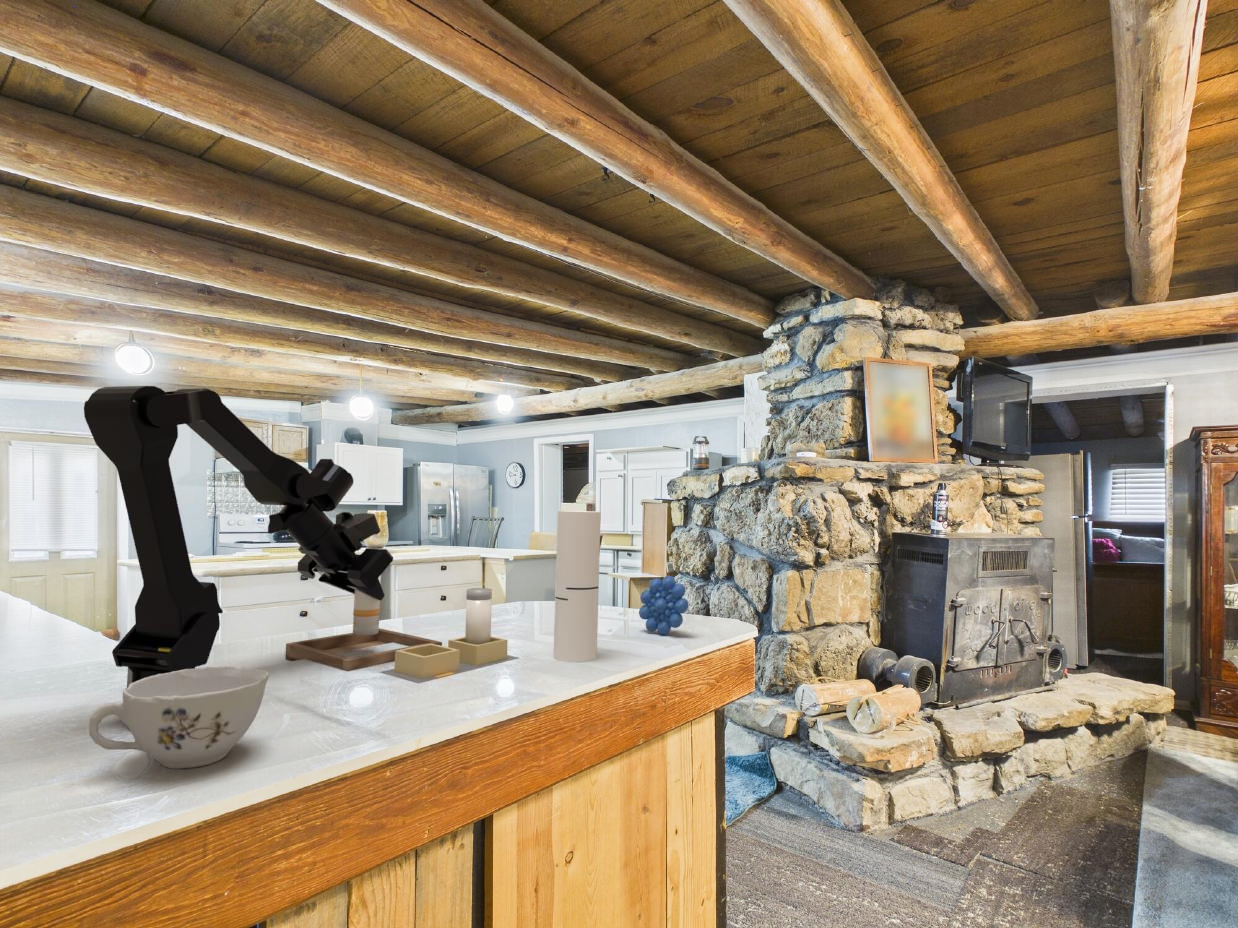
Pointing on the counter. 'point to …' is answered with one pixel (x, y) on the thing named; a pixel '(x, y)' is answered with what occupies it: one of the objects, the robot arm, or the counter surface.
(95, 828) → the counter surface
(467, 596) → the cylinder
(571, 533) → the cylindrical container
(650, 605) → the grapes
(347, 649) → the tray
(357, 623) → the ball
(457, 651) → the block
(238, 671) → the teacup
